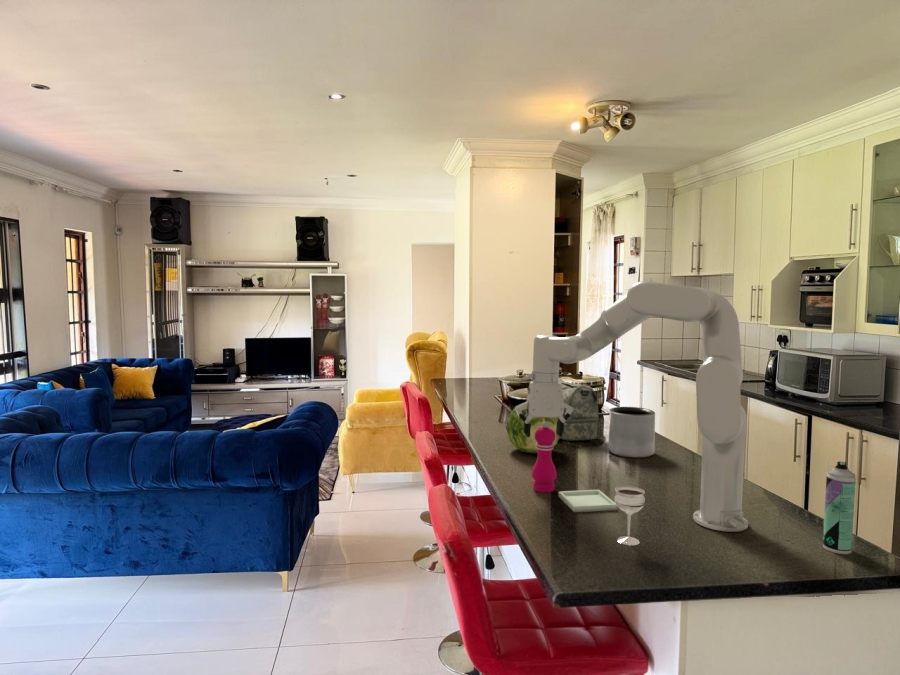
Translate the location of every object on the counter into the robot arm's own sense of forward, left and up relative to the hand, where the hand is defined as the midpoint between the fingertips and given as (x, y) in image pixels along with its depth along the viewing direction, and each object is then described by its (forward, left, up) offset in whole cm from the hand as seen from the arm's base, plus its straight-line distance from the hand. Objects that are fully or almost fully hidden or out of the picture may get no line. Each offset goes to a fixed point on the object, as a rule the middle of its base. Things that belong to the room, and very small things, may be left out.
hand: (543, 435), depth 172 cm
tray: (-13, -8, -16) cm, 22 cm away
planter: (+34, -44, -16) cm, 58 cm away
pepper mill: (0, 0, -16) cm, 16 cm away
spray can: (-49, -53, -16) cm, 74 cm away
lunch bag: (+64, -31, -16) cm, 73 cm away
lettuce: (+39, -10, -16) cm, 43 cm away
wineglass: (-38, -8, -16) cm, 42 cm away
